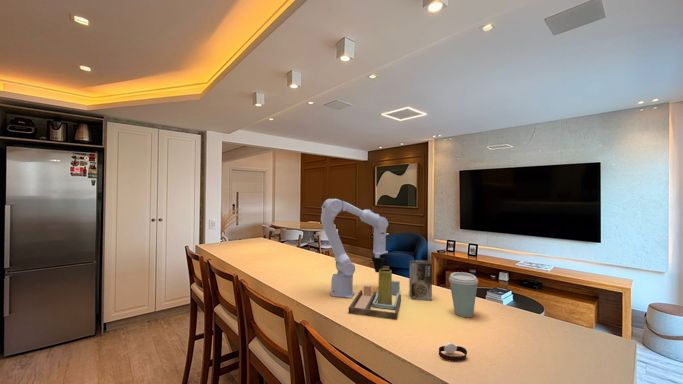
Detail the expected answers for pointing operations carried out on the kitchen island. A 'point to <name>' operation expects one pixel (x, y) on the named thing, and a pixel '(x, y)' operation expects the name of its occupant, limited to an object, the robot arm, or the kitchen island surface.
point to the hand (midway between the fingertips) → (378, 270)
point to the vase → (385, 287)
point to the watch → (451, 349)
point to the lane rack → (373, 313)
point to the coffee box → (420, 280)
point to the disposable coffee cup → (463, 293)
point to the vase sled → (394, 291)
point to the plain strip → (364, 297)
